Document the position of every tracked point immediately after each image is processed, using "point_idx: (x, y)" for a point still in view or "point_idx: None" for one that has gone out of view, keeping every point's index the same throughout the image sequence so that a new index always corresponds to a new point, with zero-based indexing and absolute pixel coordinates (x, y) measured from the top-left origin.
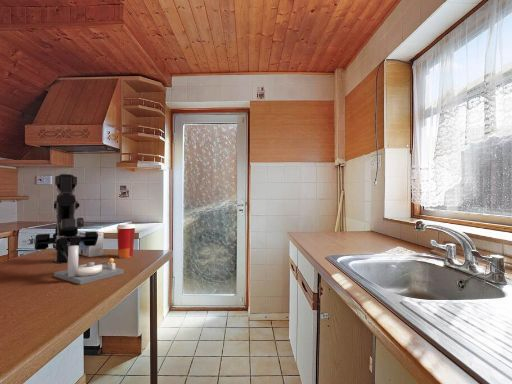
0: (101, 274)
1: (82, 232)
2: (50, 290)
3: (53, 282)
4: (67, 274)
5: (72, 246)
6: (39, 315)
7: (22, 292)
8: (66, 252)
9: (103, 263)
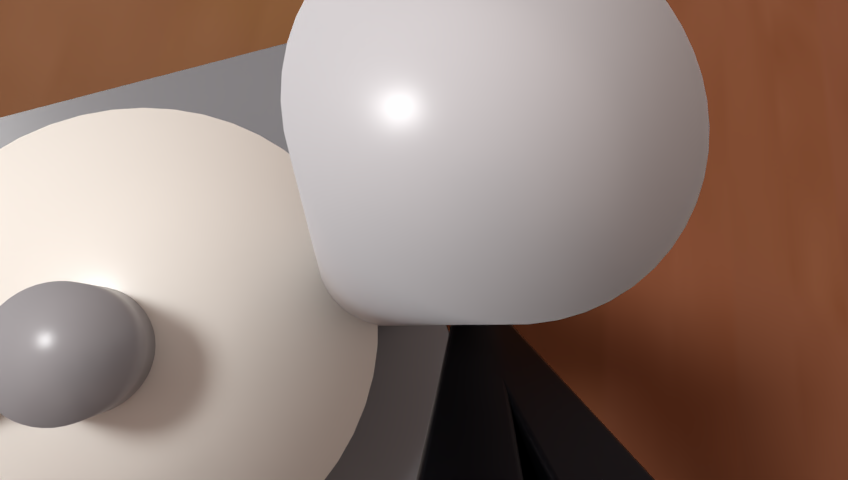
0: (34, 123)
1: None
2: None
3: (559, 324)
4: (424, 405)
5: (556, 41)
6: None
7: (792, 138)
8: (592, 425)
9: None
